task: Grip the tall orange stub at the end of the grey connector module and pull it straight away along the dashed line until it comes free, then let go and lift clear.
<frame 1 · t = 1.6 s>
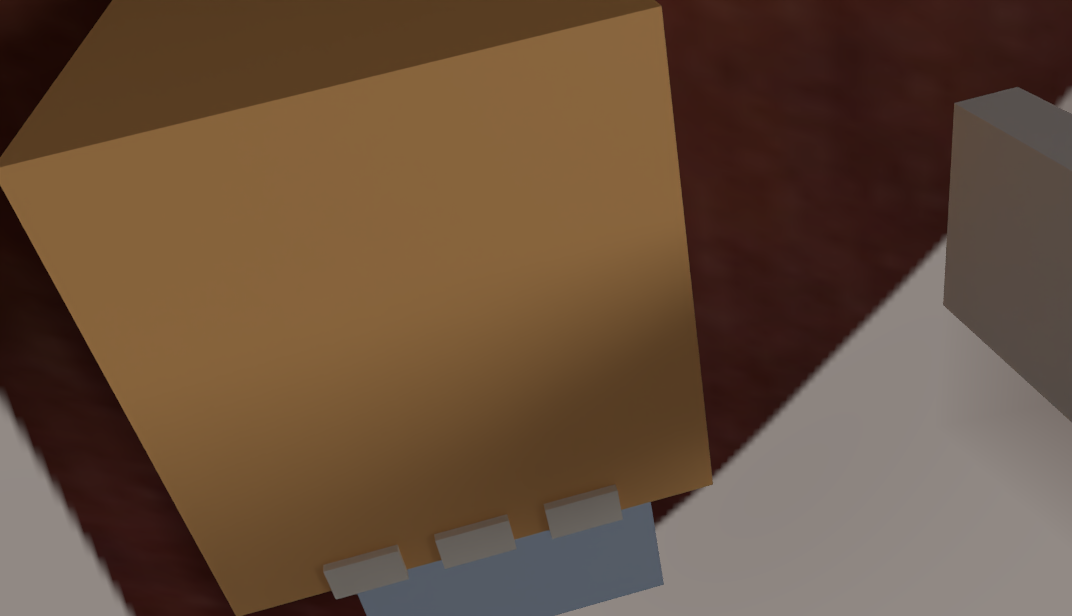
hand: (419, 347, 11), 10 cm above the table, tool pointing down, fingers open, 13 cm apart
stub: (387, 157, 15), point 6 cm above the table, slide at 0.0 cm
grey connector module: (461, 370, 24), on the table
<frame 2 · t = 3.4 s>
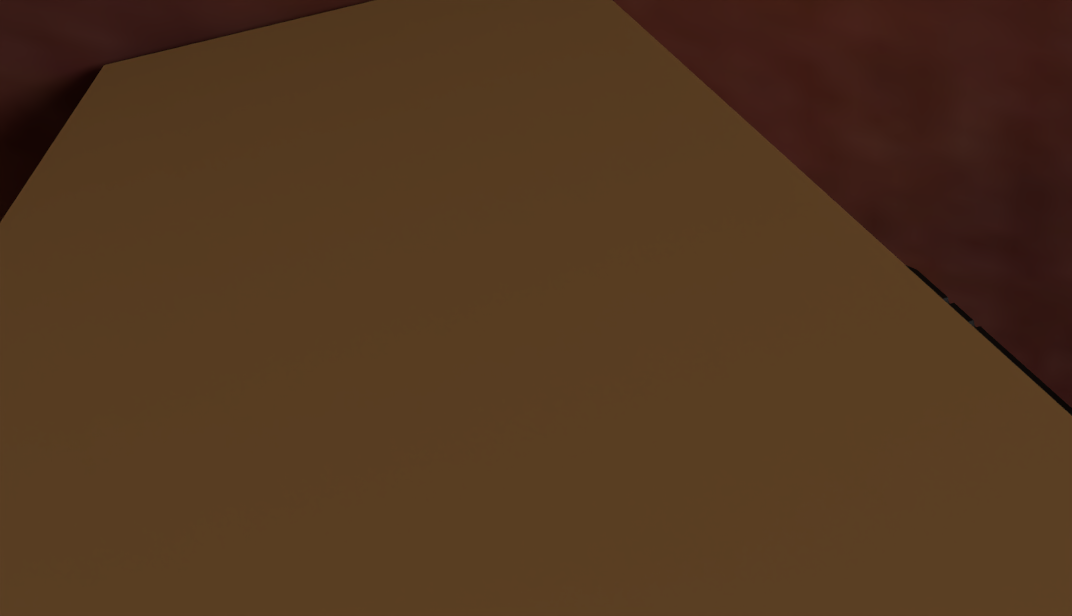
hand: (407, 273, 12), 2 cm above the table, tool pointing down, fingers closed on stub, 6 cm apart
stub: (437, 461, 9), point 6 cm above the table, slide at 0.0 cm, touching gripper
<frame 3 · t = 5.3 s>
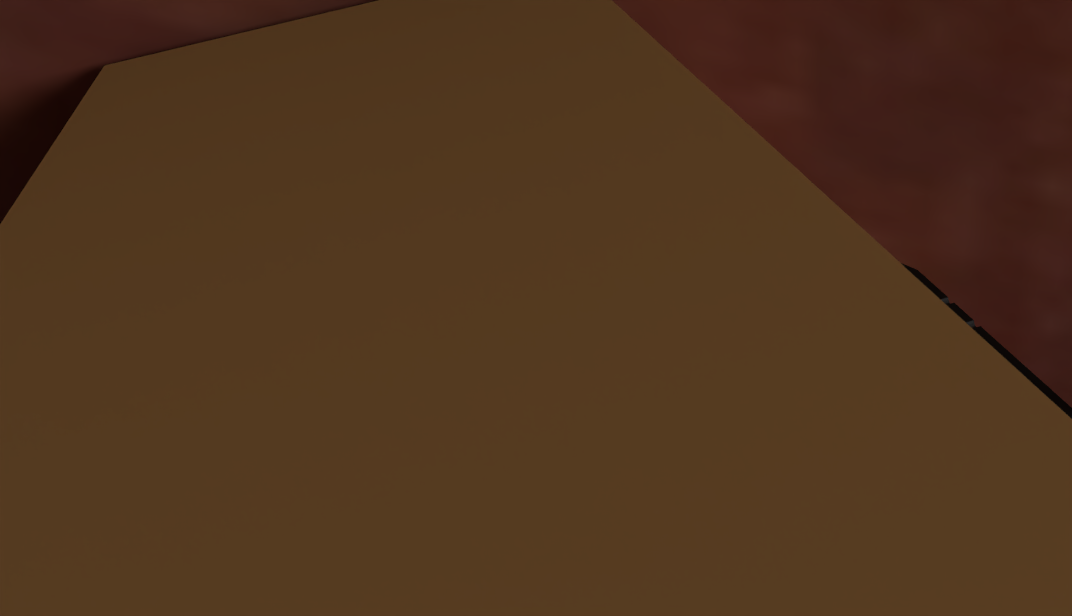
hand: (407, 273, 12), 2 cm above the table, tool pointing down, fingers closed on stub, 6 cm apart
stub: (437, 462, 9), point 6 cm above the table, slide at 6.3 cm, touching gripper
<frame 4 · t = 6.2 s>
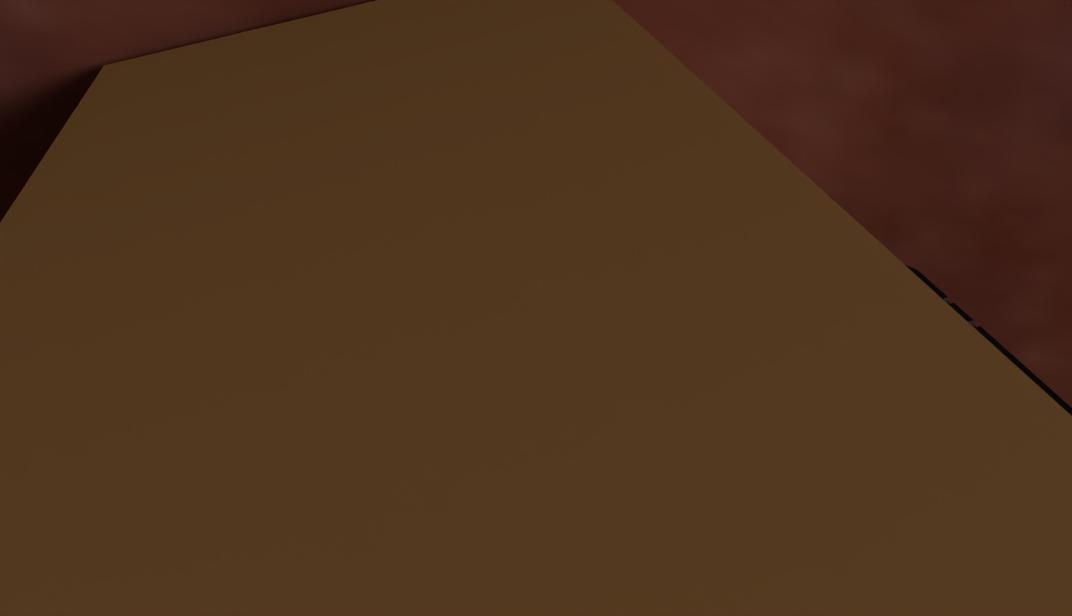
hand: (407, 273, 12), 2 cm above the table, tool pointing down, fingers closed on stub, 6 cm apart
stub: (437, 462, 9), point 6 cm above the table, slide at 9.9 cm, touching gripper
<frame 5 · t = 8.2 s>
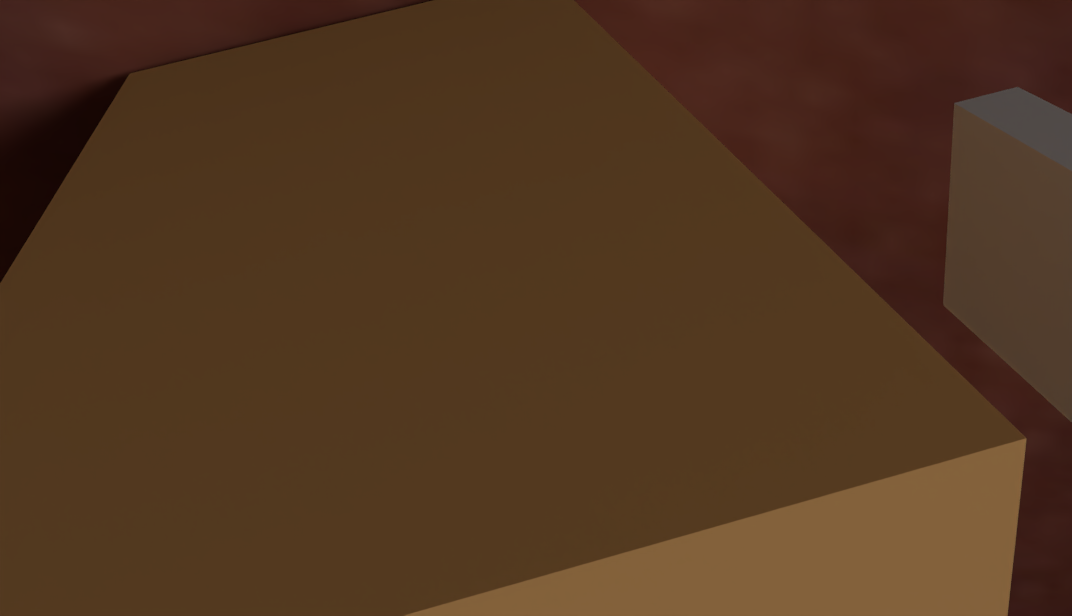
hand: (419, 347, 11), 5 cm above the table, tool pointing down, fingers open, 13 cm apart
stub: (430, 420, 10), point 6 cm above the table, slide at 10.0 cm
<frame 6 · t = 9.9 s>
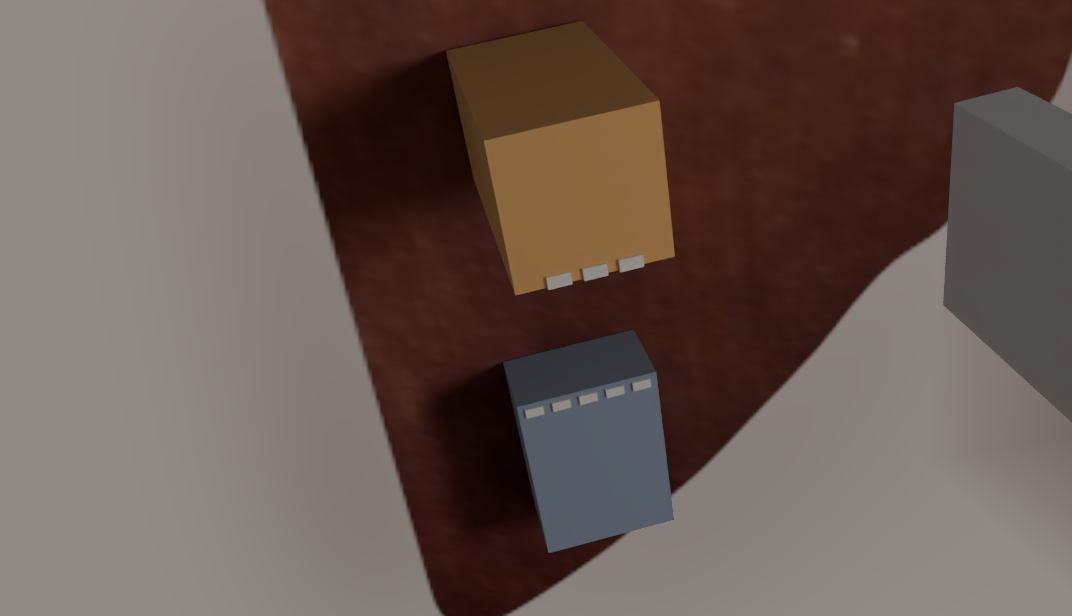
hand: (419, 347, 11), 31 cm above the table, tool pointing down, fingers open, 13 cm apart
stub: (552, 146, 38), point 6 cm above the table, slide at 10.0 cm
grey connector module: (581, 420, 52), on the table
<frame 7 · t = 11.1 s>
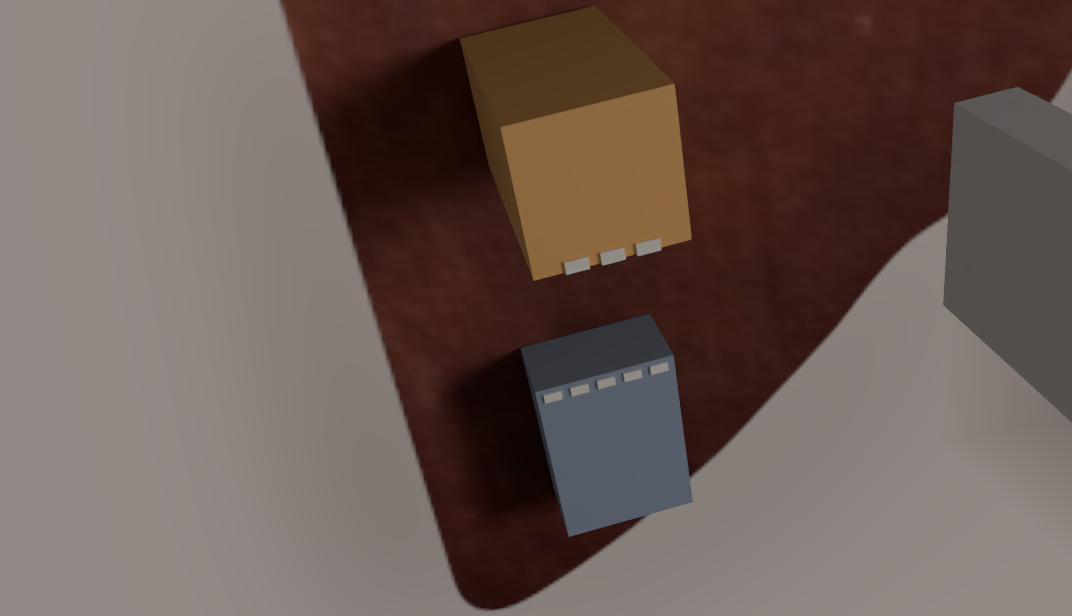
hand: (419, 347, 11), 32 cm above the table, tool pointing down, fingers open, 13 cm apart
stub: (567, 132, 38), point 6 cm above the table, slide at 10.0 cm
grey connector module: (599, 404, 53), on the table
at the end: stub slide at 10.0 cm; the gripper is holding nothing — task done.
